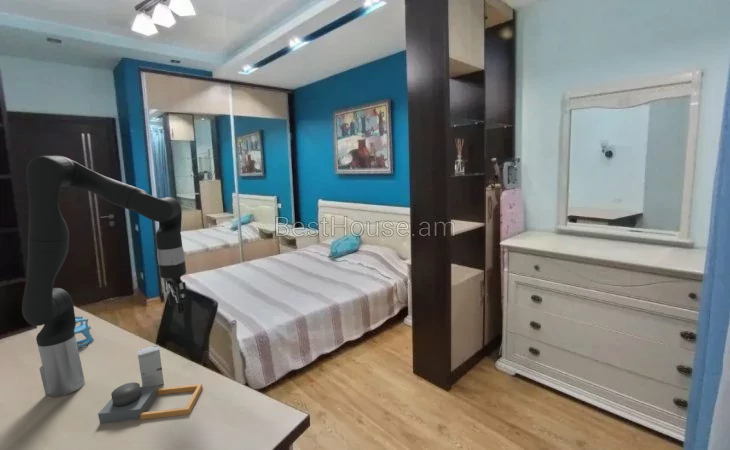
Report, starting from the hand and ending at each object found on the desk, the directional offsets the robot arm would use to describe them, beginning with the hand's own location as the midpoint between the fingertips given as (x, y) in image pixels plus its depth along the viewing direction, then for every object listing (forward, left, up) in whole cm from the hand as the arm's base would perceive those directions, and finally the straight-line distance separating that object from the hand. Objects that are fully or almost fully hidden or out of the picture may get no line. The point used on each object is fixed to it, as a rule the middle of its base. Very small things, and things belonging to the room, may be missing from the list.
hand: (177, 309), depth 118 cm
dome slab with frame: (-5, -14, -24) cm, 28 cm away
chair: (-53, +32, -24) cm, 66 cm away
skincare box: (-10, -3, -24) cm, 26 cm away
